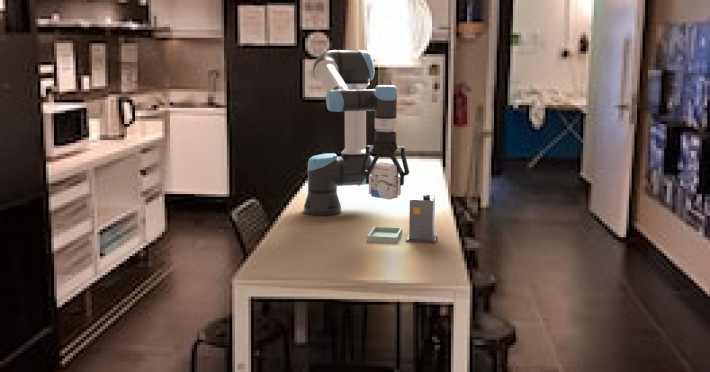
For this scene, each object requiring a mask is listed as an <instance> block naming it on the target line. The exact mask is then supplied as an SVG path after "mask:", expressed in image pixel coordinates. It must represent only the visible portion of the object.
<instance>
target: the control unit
mask: <svg viewBox="0 0 710 372" xmlns="http://www.w3.org/2000/svg"><path fill="white" fill-rule="evenodd" d="M435 210H436V195H430V194H422V195H421V194H420V195H419V194H417V195H416V194H412V195H411V197H410V199H409V216H408V219H409V222H408V223H409V226H408V235H407V237H406V239H405V243H417V244H418V243H419V244H421V243H422V244H423V243H424V244H425V243H426V244H435V243H436V242H437V241H436V240H437V238H438V234H437V233H435Z"/></svg>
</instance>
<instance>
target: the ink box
mask: <svg viewBox="0 0 710 372" xmlns="http://www.w3.org/2000/svg"><path fill="white" fill-rule="evenodd" d="M398 176H399V173H398V171H397V166H396V165H394V163H389V162H376V164H375V165H374V167H373V169H372V191H371V194H370V196H371V197H372V198H379V199H385V200H390V201H391V200H393V199H394V200H395V199H398V197H399V195H398Z"/></svg>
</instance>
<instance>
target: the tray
mask: <svg viewBox="0 0 710 372" xmlns="http://www.w3.org/2000/svg"><path fill="white" fill-rule="evenodd" d="M402 235H403V227H396V226H395V227H394V226H377V225H376V226H373V227H372V229H371V230H370V231H369V233H368V234H367V235H366V236H367V237H366V241H367V242H369V243H387V244H388V243H392V244H398V242H399V240H400V238H401V237H402Z"/></svg>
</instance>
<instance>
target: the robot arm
mask: <svg viewBox="0 0 710 372" xmlns="http://www.w3.org/2000/svg"><path fill="white" fill-rule="evenodd" d="M374 64H375V63H374V59H373V57H372V54H371V53H370V52H369V51H367V50H364V49H363V50H361V49H356V50H355V49H353V50H351V49H346V50H345V49H343V50H341V49H339V50H338V49H337V50H336V49H333V50H327V51H325V52H323V53H321V54H320V55H319V56H318V57H317V58H316V59H315V61H314V63H313V65H312V66H313V68H312V72H313V75H314V77H315V79H316V80H317V81H318V82H319V83H321V85H322V86H323V89H325V92H326V97H325V103H326V108H327V110H328V111H329V112H337V113H340V112H344V149H343V150H342V151H341V152H340V154H341V155H340V156H338V155H337V154H336V153H322V154H320V153H319V154H317V155H313V156H311V157H310V158H309V159H308V161H307V169H306V170H307V196H306V198H305V202H304V206H303V213H304V214H306V215H309V216H323V217H324V216H334V215H338V214H341V213H342V206H341V202H340V199H339V195H338V193H337V192H338V187H344V186H345V187H346V186H359V187H360V186H365V185H368V195H371V191H372V169H373V167H374V165H375V164H376V163H378V160H379V159H380V158H390V160H391V161H392V164H394V165H396V166H397V171H398V196H401V194H402V193H401V192H402V186H404V184H405V177H406V176H409V174H410V169H409V165H408V161H407V157H406V147H405V146H404V145H403V146H399V145H398V144H397V131H396V129H397V122H398V121H397V117H398V116H397V114H398V113H397V111H398V110H397V107H398V106H397V104H398V89H397V86H396V85H392V84H391V85H390V84H387V85H386V84H380V85H379V84H378V85H376V86H375V88H372V89H367V88H368V87H369V85H370V81H372V80H373V79H374V77H375V65H374ZM367 112H374V129H375V131H374V144H373V145H367ZM373 150H374V151H375V153H376V154H375V156H374V157H373V156H372V155H371V152H372V151H373ZM397 150H398V152H399V153H400V159H401V163H402V166H401V164H400V162H399V160H398V159H397V156H396V154H395V152H396V151H397ZM402 167H403V168H402Z"/></svg>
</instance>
